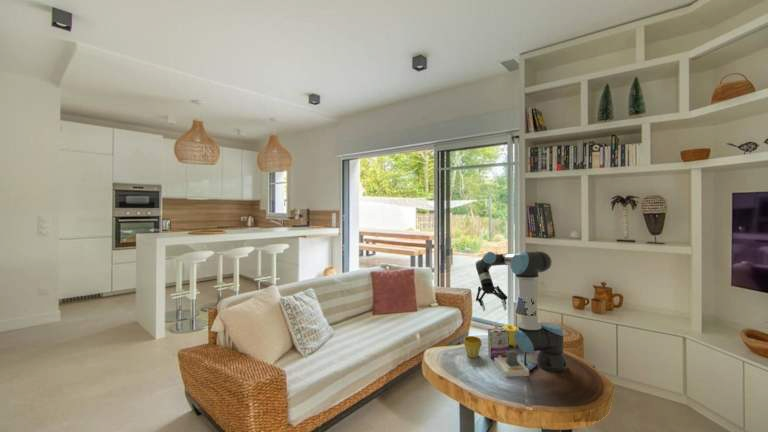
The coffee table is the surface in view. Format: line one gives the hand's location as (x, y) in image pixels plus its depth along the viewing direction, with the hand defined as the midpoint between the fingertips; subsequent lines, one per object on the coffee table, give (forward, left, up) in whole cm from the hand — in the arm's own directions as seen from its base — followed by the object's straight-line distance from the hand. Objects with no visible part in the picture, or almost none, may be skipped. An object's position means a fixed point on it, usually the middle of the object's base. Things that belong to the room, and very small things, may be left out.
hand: (495, 309), depth 205 cm
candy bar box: (+2, +10, -25) cm, 27 cm away
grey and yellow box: (-11, -7, -25) cm, 29 cm away
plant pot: (+17, +7, -25) cm, 31 cm away
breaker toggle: (+1, +26, -22) cm, 34 cm away
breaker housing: (+1, +25, -25) cm, 35 cm away
